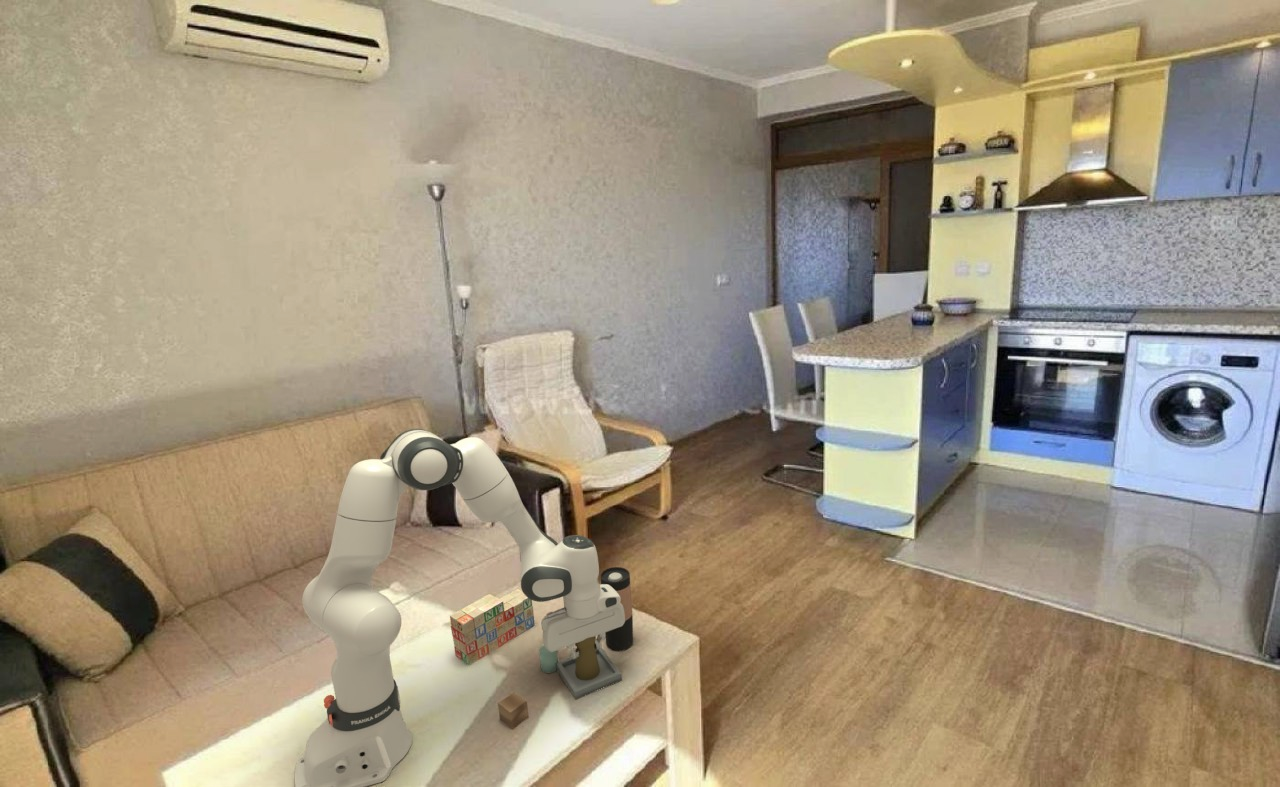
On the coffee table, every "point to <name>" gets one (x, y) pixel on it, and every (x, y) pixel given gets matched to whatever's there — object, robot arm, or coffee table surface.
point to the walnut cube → (513, 710)
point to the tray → (585, 687)
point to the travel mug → (621, 584)
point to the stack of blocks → (490, 624)
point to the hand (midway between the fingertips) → (586, 652)
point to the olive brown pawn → (587, 660)
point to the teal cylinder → (548, 660)
